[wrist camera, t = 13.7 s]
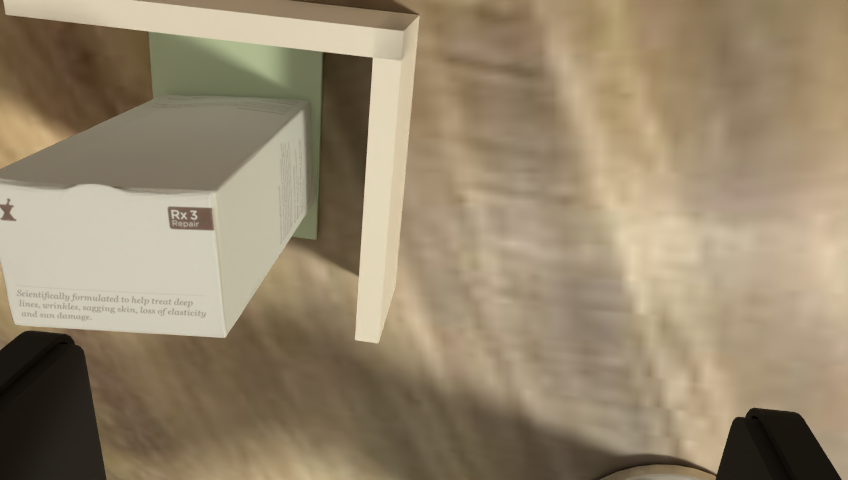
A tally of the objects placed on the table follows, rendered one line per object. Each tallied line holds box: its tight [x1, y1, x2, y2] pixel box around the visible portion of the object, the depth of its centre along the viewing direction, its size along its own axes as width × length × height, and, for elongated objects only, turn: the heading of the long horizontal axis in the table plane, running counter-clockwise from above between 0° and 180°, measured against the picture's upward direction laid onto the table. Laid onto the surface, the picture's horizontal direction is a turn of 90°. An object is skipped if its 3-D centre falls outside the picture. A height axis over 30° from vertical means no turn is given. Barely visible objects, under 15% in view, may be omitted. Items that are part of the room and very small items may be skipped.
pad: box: [148, 31, 323, 240], centre depth 37 cm, size 11×9×1 cm
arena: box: [3, 0, 419, 343], centre depth 34 cm, size 15×17×6 cm
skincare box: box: [0, 94, 314, 338], centre depth 30 cm, size 8×6×15 cm
